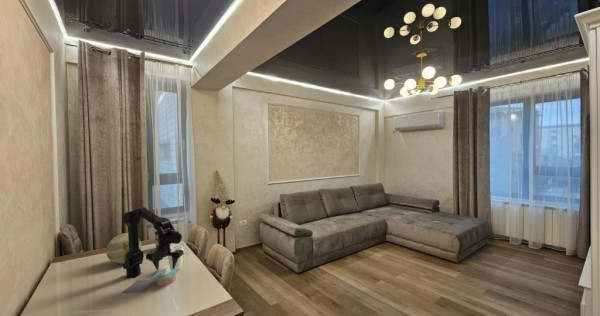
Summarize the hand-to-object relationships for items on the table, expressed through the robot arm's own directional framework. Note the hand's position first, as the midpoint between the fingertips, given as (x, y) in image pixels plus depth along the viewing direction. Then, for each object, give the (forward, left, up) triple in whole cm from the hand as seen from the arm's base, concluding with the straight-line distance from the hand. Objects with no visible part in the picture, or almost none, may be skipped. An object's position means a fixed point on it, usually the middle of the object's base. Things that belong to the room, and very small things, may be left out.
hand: (165, 269), depth 142 cm
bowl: (0, 0, -8) cm, 8 cm away
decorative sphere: (-45, +30, -8) cm, 55 cm away
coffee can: (-32, +54, -8) cm, 63 cm away
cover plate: (0, 0, -3) cm, 3 cm away
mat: (-12, -4, -8) cm, 15 cm away
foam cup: (-3, +17, -8) cm, 19 cm away
